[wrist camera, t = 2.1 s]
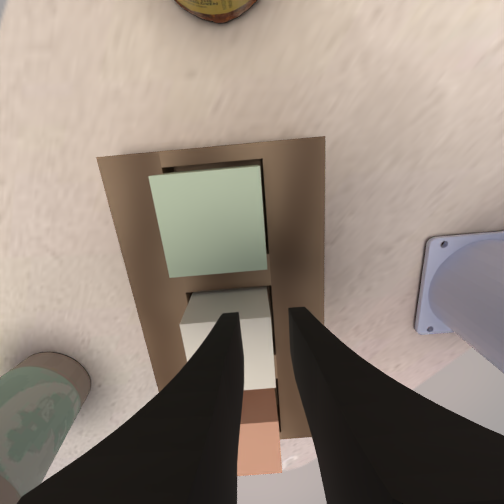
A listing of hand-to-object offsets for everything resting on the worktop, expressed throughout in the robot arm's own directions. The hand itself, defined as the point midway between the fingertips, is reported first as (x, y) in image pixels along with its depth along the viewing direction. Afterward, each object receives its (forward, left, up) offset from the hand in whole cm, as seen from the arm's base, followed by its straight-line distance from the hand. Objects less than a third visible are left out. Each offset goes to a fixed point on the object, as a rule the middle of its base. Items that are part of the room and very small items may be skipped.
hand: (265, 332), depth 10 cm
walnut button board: (+2, +4, -9) cm, 10 cm away
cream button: (+2, +4, -7) cm, 9 cm away
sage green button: (+2, -3, -7) cm, 8 cm away
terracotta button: (+2, +12, -7) cm, 14 cm away
